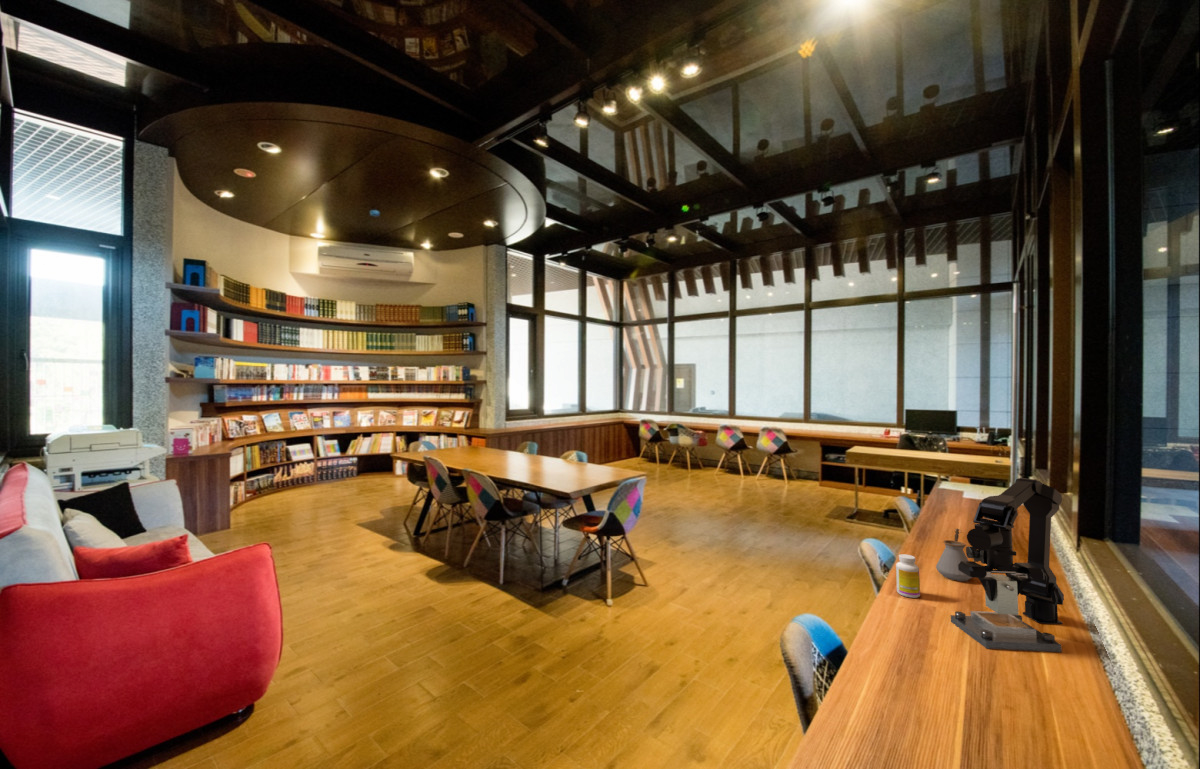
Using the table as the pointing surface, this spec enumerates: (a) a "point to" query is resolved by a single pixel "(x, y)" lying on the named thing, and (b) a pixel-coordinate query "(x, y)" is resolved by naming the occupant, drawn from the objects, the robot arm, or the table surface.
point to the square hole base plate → (1004, 632)
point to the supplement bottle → (907, 576)
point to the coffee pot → (952, 559)
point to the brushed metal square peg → (1004, 595)
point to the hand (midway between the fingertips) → (1001, 600)
